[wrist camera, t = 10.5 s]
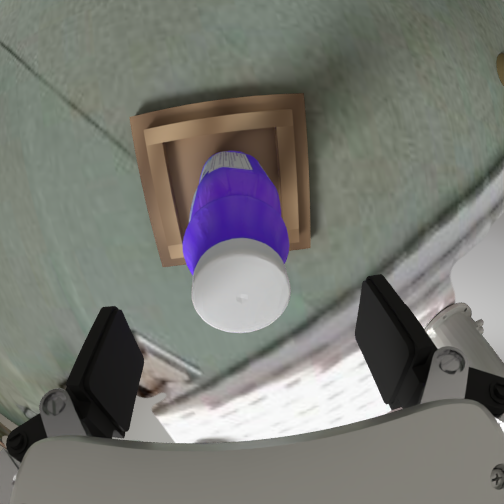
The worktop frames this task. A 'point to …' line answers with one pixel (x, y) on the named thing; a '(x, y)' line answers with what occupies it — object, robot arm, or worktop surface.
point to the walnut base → (218, 140)
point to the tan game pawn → (500, 67)
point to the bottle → (237, 245)
